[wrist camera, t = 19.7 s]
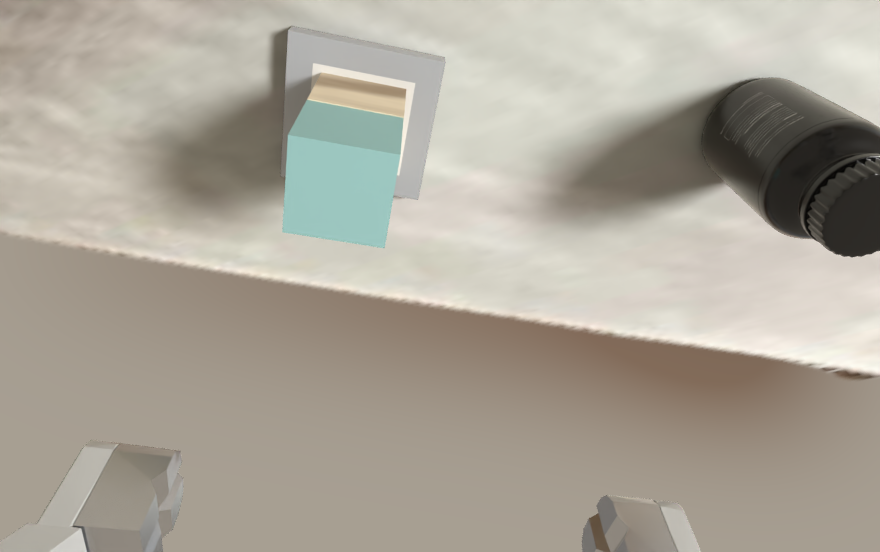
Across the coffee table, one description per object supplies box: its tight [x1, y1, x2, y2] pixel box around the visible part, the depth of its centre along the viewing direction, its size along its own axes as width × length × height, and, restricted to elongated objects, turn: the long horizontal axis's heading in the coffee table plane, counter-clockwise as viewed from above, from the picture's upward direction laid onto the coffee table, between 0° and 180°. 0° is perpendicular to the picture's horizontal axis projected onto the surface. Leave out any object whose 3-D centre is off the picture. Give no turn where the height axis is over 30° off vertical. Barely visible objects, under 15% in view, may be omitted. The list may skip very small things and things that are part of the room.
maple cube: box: [307, 73, 406, 121], centre depth 33 cm, size 5×5×5 cm
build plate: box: [281, 26, 445, 200], centre depth 36 cm, size 9×9×1 cm
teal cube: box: [282, 100, 404, 248], centre depth 29 cm, size 5×5×5 cm
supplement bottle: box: [702, 78, 880, 257], centre depth 33 cm, size 7×7×12 cm
